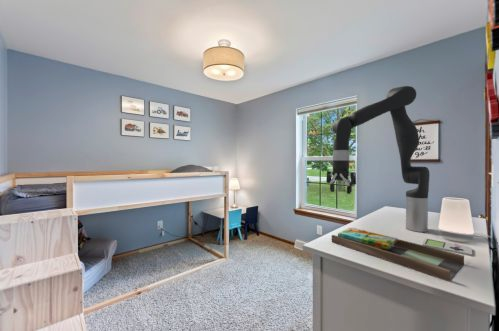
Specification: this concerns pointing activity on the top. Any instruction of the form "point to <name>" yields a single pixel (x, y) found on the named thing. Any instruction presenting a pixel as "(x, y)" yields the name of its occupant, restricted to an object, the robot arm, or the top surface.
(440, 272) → the channel
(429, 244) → the handheld gaming console
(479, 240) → the top surface
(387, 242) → the puzzle game
